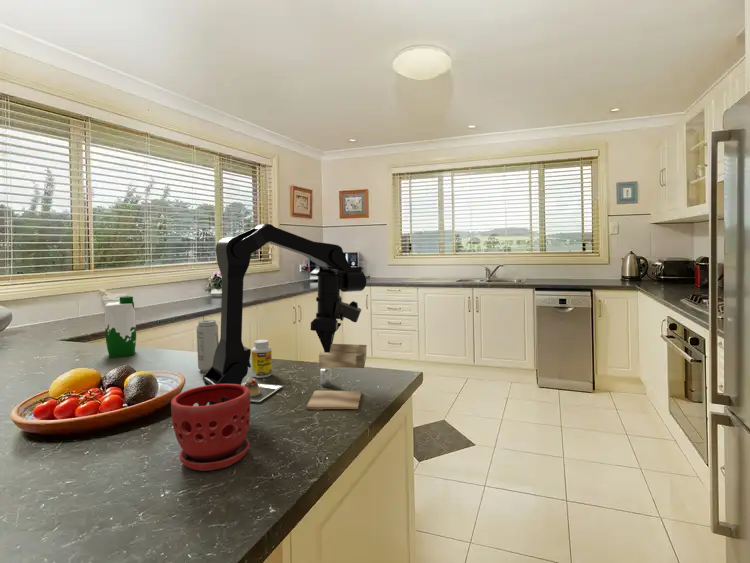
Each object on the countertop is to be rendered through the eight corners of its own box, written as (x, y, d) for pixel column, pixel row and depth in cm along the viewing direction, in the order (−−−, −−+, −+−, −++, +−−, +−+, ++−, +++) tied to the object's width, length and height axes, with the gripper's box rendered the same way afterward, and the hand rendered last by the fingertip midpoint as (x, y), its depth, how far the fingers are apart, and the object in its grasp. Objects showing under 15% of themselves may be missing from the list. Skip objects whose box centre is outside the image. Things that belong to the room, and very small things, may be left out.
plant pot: (259, 440, 84) (257, 380, 83) (240, 476, 71) (238, 406, 70) (191, 441, 84) (188, 381, 82) (160, 478, 70) (156, 407, 69)
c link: (366, 355, 114) (366, 344, 114) (364, 368, 104) (364, 356, 104) (325, 354, 114) (325, 343, 114) (318, 366, 105) (319, 354, 104)
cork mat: (357, 409, 99) (357, 407, 99) (306, 409, 100) (306, 406, 100) (361, 393, 110) (361, 391, 110) (314, 392, 110) (314, 390, 110)
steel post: (330, 387, 115) (330, 370, 114) (319, 387, 115) (319, 370, 115) (332, 383, 118) (332, 367, 117) (321, 383, 118) (321, 367, 118)
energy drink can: (219, 371, 129) (218, 322, 128) (198, 373, 127) (196, 323, 126) (219, 366, 135) (217, 319, 134) (198, 368, 133) (196, 320, 131)
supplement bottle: (255, 379, 121) (254, 344, 120) (249, 374, 126) (248, 340, 125) (274, 376, 124) (274, 341, 124) (268, 371, 129) (267, 338, 128)
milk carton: (136, 355, 148) (133, 298, 146) (105, 358, 144) (101, 299, 142) (138, 350, 156) (135, 295, 154) (108, 352, 152) (105, 296, 150)
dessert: (283, 389, 115) (283, 372, 114) (260, 406, 103) (259, 386, 103) (244, 386, 118) (243, 368, 117) (217, 401, 106) (216, 382, 106)
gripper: (356, 297, 103) (355, 361, 104) (361, 290, 121) (360, 344, 122) (310, 296, 103) (309, 360, 104) (322, 289, 121) (321, 343, 123)
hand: (328, 351), depth 113 cm, fingers closed on c link, 2 cm apart
